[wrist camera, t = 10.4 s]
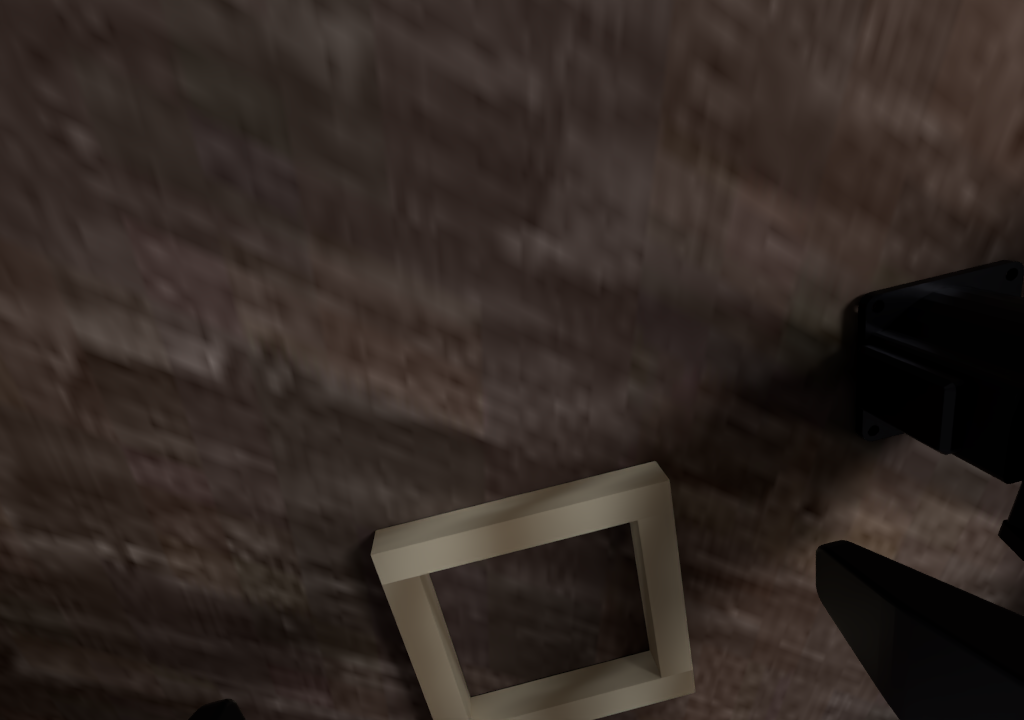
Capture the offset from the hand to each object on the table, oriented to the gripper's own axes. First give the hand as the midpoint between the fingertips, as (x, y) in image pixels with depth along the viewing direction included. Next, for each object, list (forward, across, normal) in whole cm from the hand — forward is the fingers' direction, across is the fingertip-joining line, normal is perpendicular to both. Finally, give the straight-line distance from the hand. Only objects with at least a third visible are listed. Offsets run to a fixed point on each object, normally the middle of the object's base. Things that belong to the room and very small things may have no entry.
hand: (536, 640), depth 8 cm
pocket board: (+12, 0, +12) cm, 17 cm away
